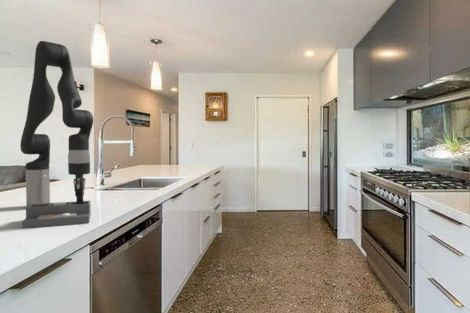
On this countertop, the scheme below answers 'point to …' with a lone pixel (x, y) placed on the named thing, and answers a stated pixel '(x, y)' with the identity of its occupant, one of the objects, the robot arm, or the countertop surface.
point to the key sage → (60, 204)
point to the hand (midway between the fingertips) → (80, 206)
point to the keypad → (57, 214)
